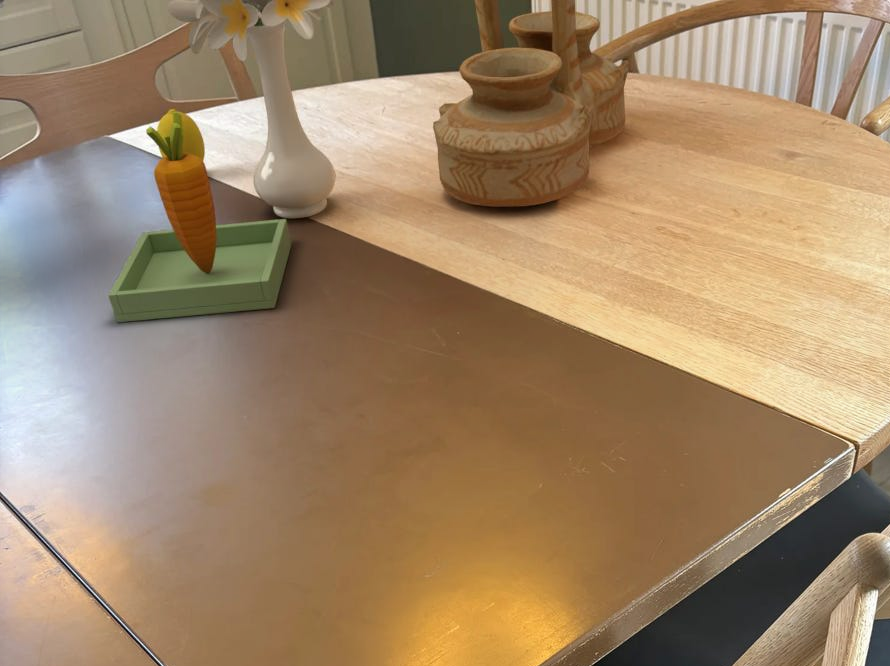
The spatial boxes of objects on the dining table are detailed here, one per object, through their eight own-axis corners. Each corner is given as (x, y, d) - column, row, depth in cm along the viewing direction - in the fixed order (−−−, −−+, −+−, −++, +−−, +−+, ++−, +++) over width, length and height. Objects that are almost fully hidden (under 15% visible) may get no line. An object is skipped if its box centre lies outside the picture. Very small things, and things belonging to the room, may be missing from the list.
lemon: (177, 170, 131) (158, 103, 126) (217, 168, 131) (200, 101, 125) (161, 186, 128) (142, 117, 122) (203, 184, 127) (185, 115, 121)
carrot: (189, 288, 102) (143, 128, 92) (179, 270, 105) (133, 115, 95) (237, 275, 103) (196, 117, 93) (225, 259, 107) (185, 104, 96)
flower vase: (253, 186, 125) (197, -57, 108) (389, 193, 119) (353, -62, 102) (196, 227, 116) (127, -30, 99) (340, 237, 110) (292, -34, 93)
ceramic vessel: (580, 220, 108) (576, -59, 91) (419, 214, 113) (387, -51, 96) (641, 118, 132) (647, -121, 114) (505, 116, 137) (491, -112, 119)
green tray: (117, 322, 99) (107, 295, 97) (150, 257, 111) (142, 232, 109) (274, 308, 99) (268, 280, 97) (291, 244, 110) (286, 218, 108)
